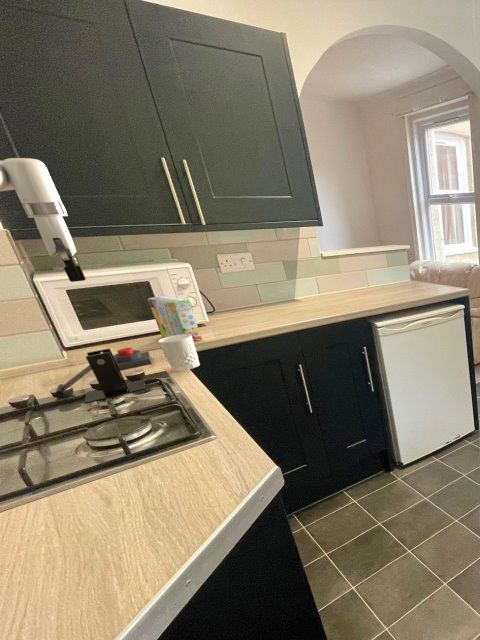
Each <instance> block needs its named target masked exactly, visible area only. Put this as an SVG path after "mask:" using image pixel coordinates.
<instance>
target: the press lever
mask: <svg viewBox="0 0 480 640" xmlns="http://www.w3.org/2000/svg"><path fill="white" fill-rule="evenodd" d="M100 353H103V352H102V351H101V352H100ZM100 353H99V354H100ZM91 371H92V369H91V367H90V365H87V366H86V367H84V368H83V369H82V370H81V371H80V372H77V374H75V375H74V376H73V377H71V378H70V379H69V380H67V381H66V382H65V383H60V384H58V385H57V388H56V391H55V393H54V394H55V396H57V397H63V396H64V394H65V392H66V390H68V389H69V388H71V387H72V386H73V385H74V384H76V383H77V382H78V381H79V380H81V379H82V378H83V377H84V376H86V375H87V374H88V373H89V372H91Z"/></svg>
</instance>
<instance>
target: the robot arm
mask: <svg viewBox="0 0 480 640" xmlns="http://www.w3.org/2000/svg"><path fill="white" fill-rule="evenodd" d="M52 179H53V178H52V177H51V175H50V172H49V170H48V168H47V165H45V163H44V162H43V161H41V160H39V159H36V158H31V157H29V158H28V157H11V158H10V157H9V158H6V159H3V160H2V159H1V160H0V192H7V191H13V190H14V191H15V193H16V194H17V195H16V196H17V197H18V199H19V201H20V203H21V205H22V208H23V209H24V211H25V214H26V216H27V217H28V219H29V218H30V219H31V218H33V219H34V221H35V225H36V227H37V230H38V232H39V235H40V236H41V239H42V241H43V244H44V246H45V248H46V250H47V253H48V255H49V256H50V257H56V256H57V255H58V258H59V260H60V261H61V264H62V266H63V270H64V272H65V274H66V276H67V278H68V280H69V282H72V283H75V282H83V281H86V280H87V279H86V276H85V273H84V272H83V269H82V267H81V265H79V263H78V260H77V259H76V255H75V254H77V249H76V245H75V243H74V241H73V238H72V235H71V233H70V231H69V229H68V226H67V223H66V222H65V219H64V217H68V216H69V215H68V213H67V210H66V208H65V206H64V204H63V202H62V200H61V197H60V195H59V192H58V190H57V187H56V186H55V183H54V181H53V180H52Z"/></svg>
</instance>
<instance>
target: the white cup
mask: <svg viewBox="0 0 480 640" xmlns="http://www.w3.org/2000/svg"><path fill="white" fill-rule="evenodd" d="M157 342H158V344H159V346H160V349H161V350H162V353H163V354H164V357H165V358H166V360H167V362H168V364H169V365H170V367H171V370H172V371H173V372H184V371H189V370H193V369H195V368H197V367H199V366H200V365H201V363H200V360H199V355H198V352H197V349H196V346H195V341H194V342H193V339H192V336H191V335H190V334H180V335H174V336H169V337H162V338H160V339H159V340H158V341H157Z"/></svg>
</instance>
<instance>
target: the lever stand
mask: <svg viewBox="0 0 480 640" xmlns="http://www.w3.org/2000/svg"><path fill="white" fill-rule="evenodd" d="M101 351H102V352H103V353H100V352H101ZM99 353H100V354H99ZM86 354H87V355H85V358H86V360H87V363H88V364H89V365H90V367H91V369H92V370H91V371H92V373H93V375H94V377H95V379H96V380H97V381H96V382H97V383H98V385H99V387H100V389H102V391H97V390H98V389H93V390H89V391H87V392H86V395H85V399H84V404H85V405H86V404H90V403H95V402H99V401H103V400H107V399H106V398H108V399H112V398H115V397H119V396H125V395H128V394H132V393H137V392H141V391H144V390H146V389H147V387H146V380H144V379H145V378H142V379H143V380H142V379H138V380H139V381H138V380H134V382H133V381H130V382H126V381H125V378H124V376H123V374H122V371H120V369H119V367H118V365H117V363H116V361H115V358H114V356H113V355H114V354H113V352H112V350H111V348H109V347H108V348H103V349H99V350H94V351H88V352H86ZM89 365H88V366H89Z"/></svg>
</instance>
